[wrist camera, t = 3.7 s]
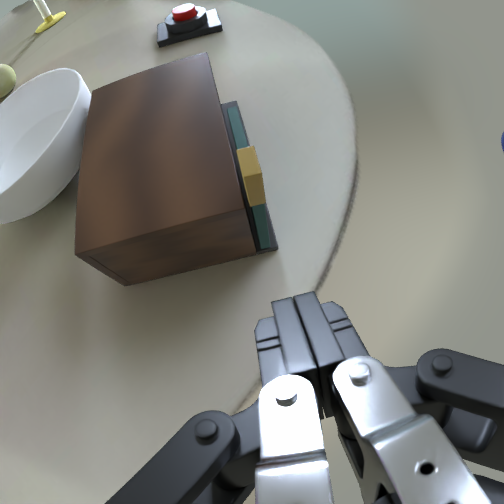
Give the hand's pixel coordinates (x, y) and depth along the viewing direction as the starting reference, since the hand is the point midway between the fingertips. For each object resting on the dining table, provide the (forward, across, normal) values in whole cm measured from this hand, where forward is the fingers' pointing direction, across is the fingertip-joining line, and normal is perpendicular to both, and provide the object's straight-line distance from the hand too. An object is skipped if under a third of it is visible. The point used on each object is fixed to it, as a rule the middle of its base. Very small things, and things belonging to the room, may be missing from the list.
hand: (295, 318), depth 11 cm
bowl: (+28, +24, -8) cm, 38 cm away
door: (+18, 0, 0) cm, 18 cm away
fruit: (+50, +43, -30) cm, 72 cm away
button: (+42, +3, -26) cm, 49 cm away
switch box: (+44, +3, -24) cm, 50 cm away
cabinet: (+22, +7, -2) cm, 23 cm away
